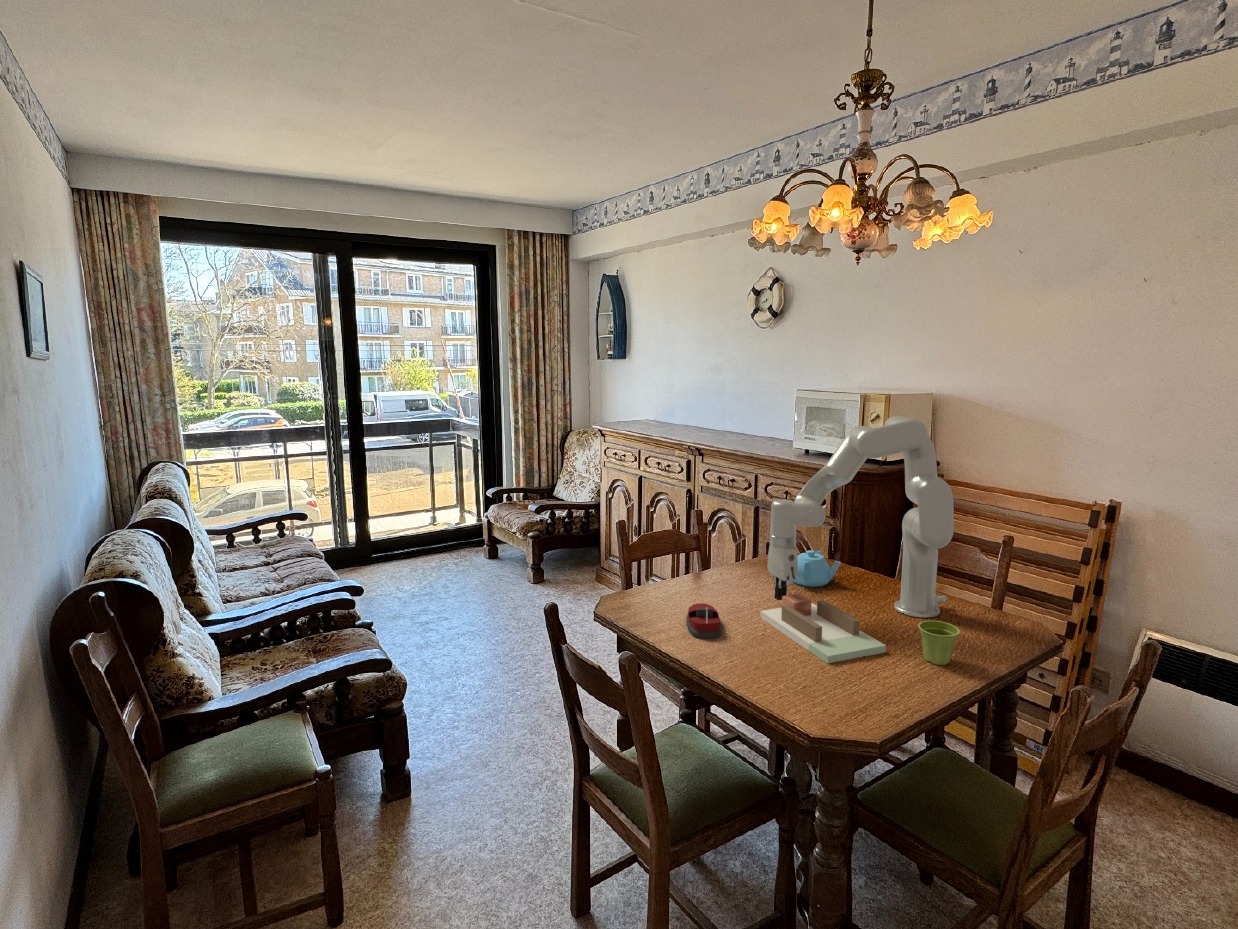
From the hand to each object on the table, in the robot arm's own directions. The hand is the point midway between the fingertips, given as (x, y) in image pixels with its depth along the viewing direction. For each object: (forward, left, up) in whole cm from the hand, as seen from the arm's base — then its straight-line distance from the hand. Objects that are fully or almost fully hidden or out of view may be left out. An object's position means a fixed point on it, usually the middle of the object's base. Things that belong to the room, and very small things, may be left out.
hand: (780, 598), depth 201 cm
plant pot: (-18, +43, -4) cm, 47 cm away
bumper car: (+28, +4, -4) cm, 28 cm away
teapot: (-24, -19, -4) cm, 31 cm away
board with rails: (0, +19, -4) cm, 19 cm away
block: (0, +8, -2) cm, 8 cm away
